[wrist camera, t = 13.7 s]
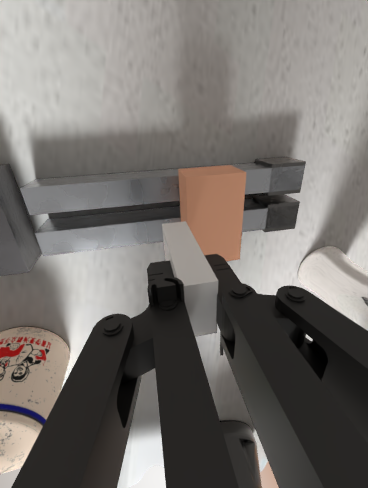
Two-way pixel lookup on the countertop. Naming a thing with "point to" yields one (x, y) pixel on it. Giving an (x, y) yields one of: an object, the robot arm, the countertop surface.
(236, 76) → the countertop surface
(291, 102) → the countertop surface
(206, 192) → the peach rectangular block
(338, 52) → the countertop surface
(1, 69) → the countertop surface
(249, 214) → the tong arm
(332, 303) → the beer glass
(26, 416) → the teacup with lid
